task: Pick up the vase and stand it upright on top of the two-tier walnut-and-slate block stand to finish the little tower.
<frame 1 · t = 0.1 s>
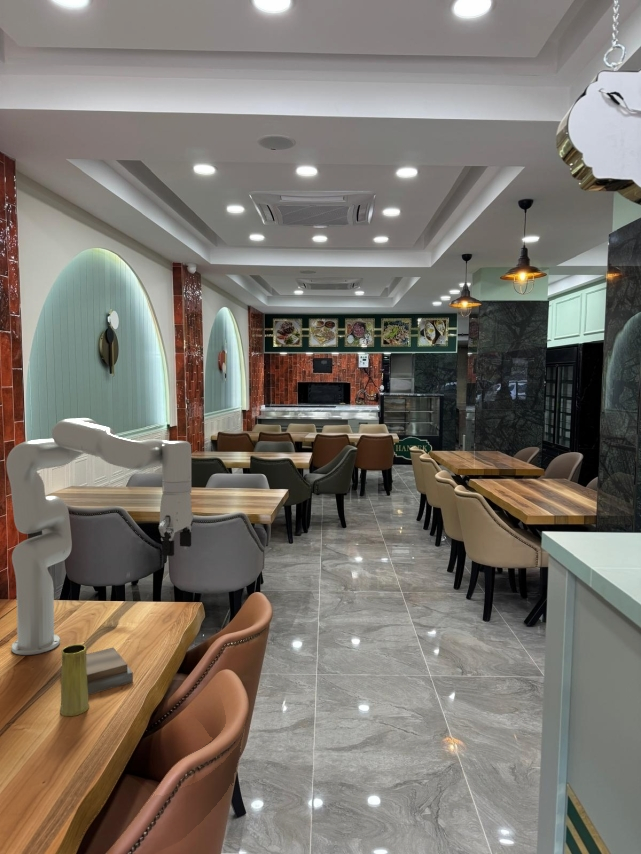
hand: (177, 550, 152), 31 cm above the table, tool pointing down, fingers open, 9 cm apart
vase: (74, 710, 130), on the table
stand: (96, 678, 145), on the table
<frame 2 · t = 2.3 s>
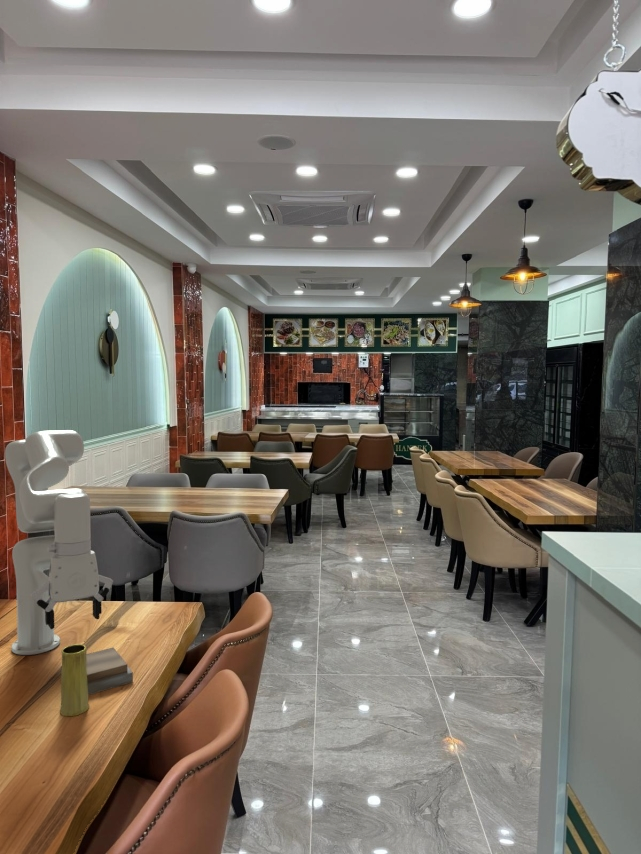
hand: (74, 622, 129), 21 cm above the table, tool pointing down, fingers open, 9 cm apart
nothing on the table moved.
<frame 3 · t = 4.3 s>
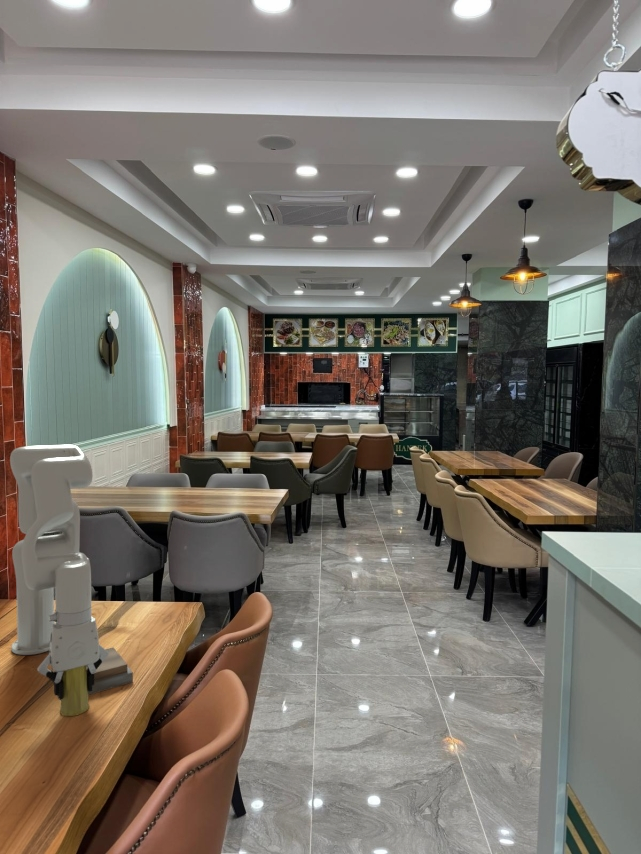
hand: (74, 692, 130), 4 cm above the table, tool pointing down, fingers closed on vase, 5 cm apart
vase: (74, 710, 130), on the table, touching gripper
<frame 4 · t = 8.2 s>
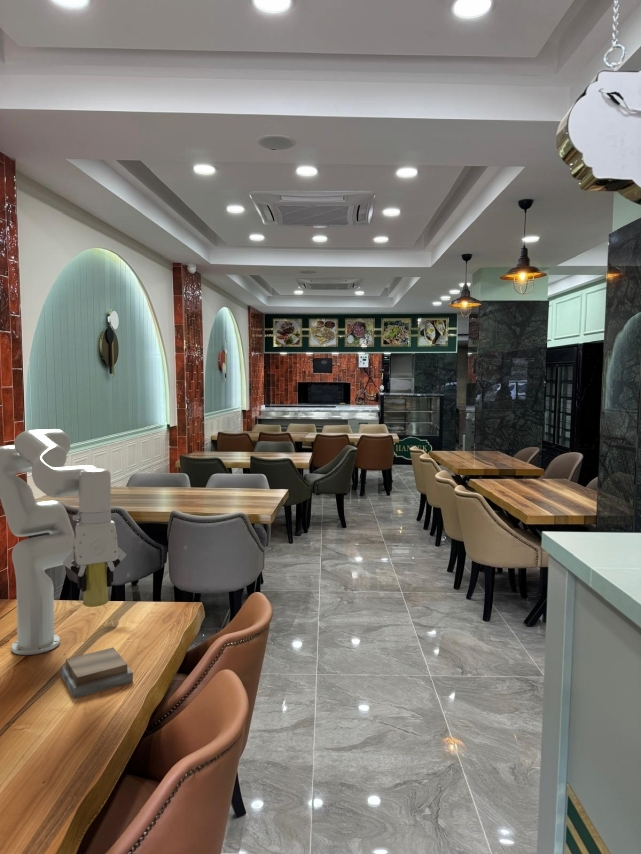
hand: (95, 587, 144), 24 cm above the table, tool pointing down, fingers closed on vase, 5 cm apart
vase: (95, 603, 144), point 20 cm above the table, touching gripper
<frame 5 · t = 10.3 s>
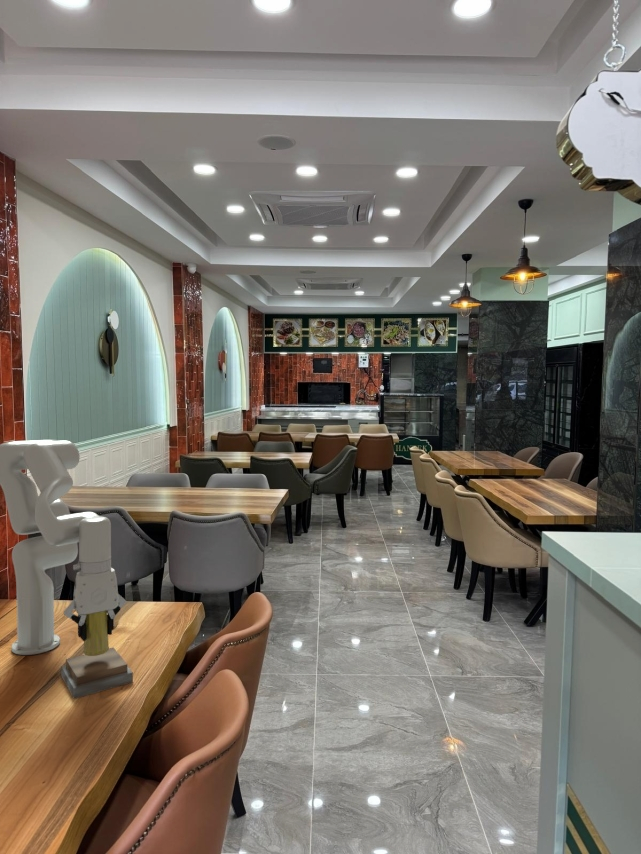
hand: (96, 635, 144), 11 cm above the table, tool pointing down, fingers closed on vase, 5 cm apart
vase: (96, 651, 144), point 7 cm above the table, touching gripper
when the fingers open (11 cm above the table, at t = 12.1 s): vase drops 2 cm, resting on stand.
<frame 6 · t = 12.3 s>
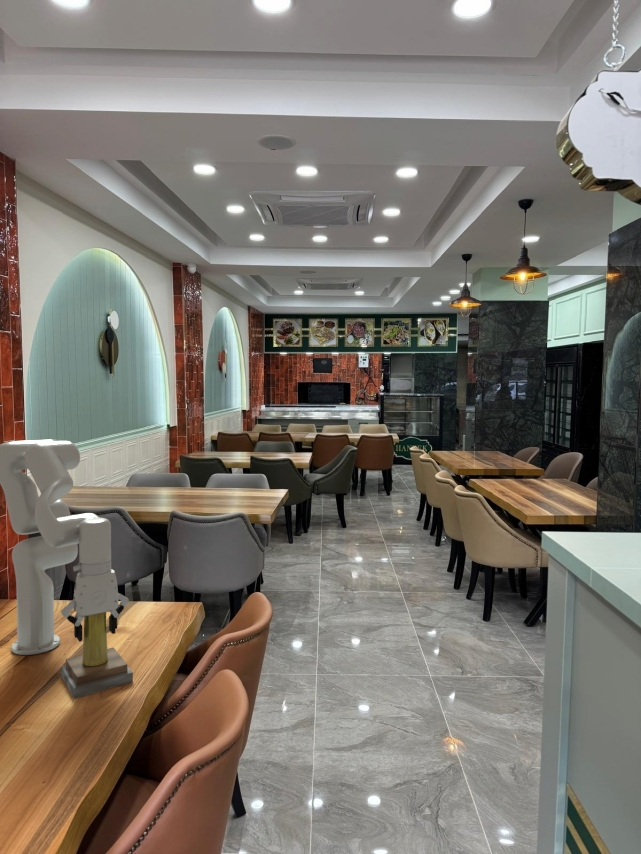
hand: (96, 635, 144), 11 cm above the table, tool pointing down, fingers open, 7 cm apart
vase: (95, 662, 145), point 4 cm above the table, touching stand
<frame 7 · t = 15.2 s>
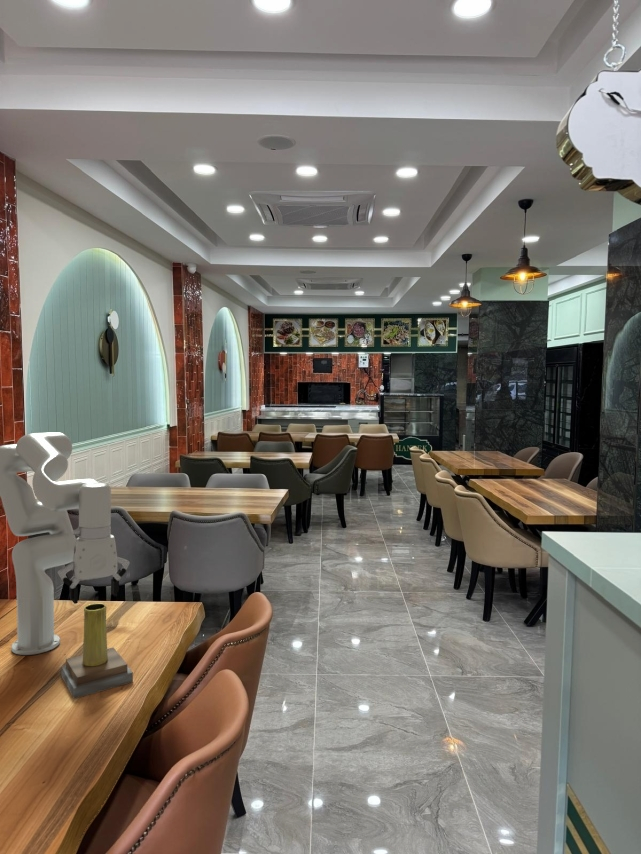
hand: (94, 598, 144), 21 cm above the table, tool pointing down, fingers open, 9 cm apart
nothing on the table moved.
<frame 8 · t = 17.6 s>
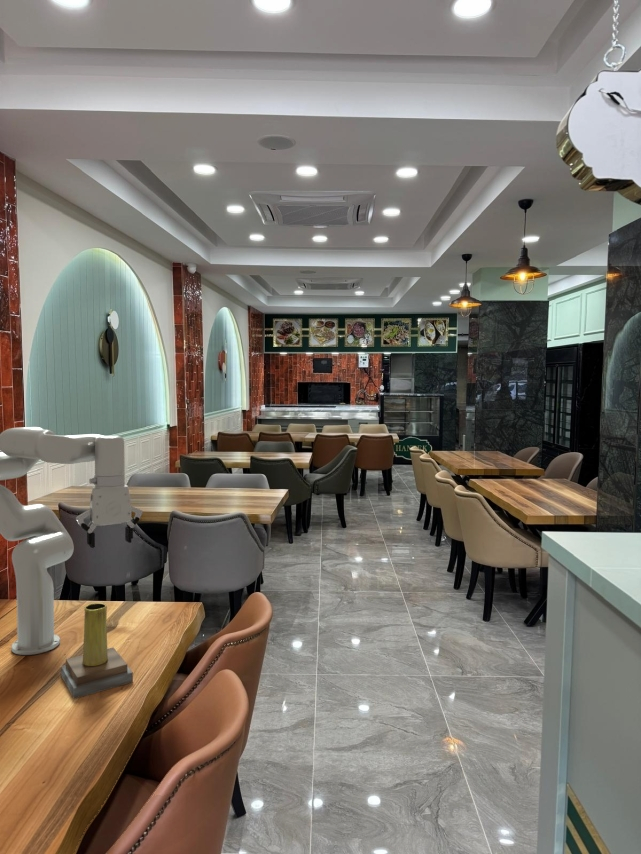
hand: (110, 544, 153), 32 cm above the table, tool pointing down, fingers open, 9 cm apart
nothing on the table moved.
at the end: vase inside the target area on the stand (0.4 cm from its centre), point 4.3 cm above the stand's base; vase tilted 1°; the gripper is holding nothing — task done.
